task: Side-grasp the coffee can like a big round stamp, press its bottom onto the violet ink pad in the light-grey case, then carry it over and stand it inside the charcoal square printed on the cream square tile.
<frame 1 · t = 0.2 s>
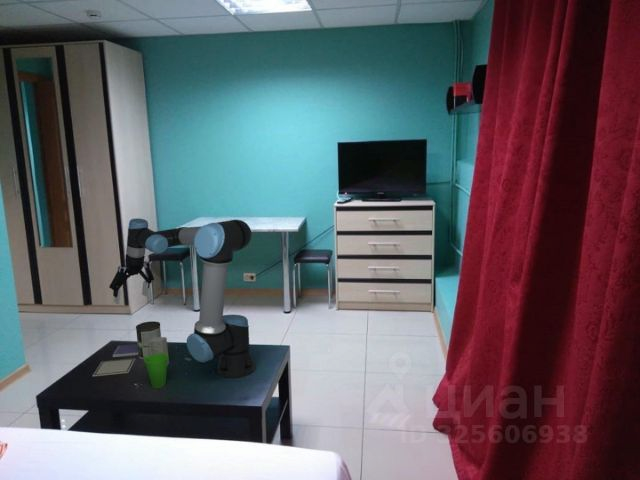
hand: (130, 299, 202), 27 cm above the table, tool tilted 15°, fingers open, 13 cm apart
skincare box: (160, 366, 197), on the table
ink pad: (128, 351, 213), on the table
cream square tile: (114, 367, 196), on the table
cup: (158, 385, 180), on the table
coffee can: (150, 355, 208), on the table
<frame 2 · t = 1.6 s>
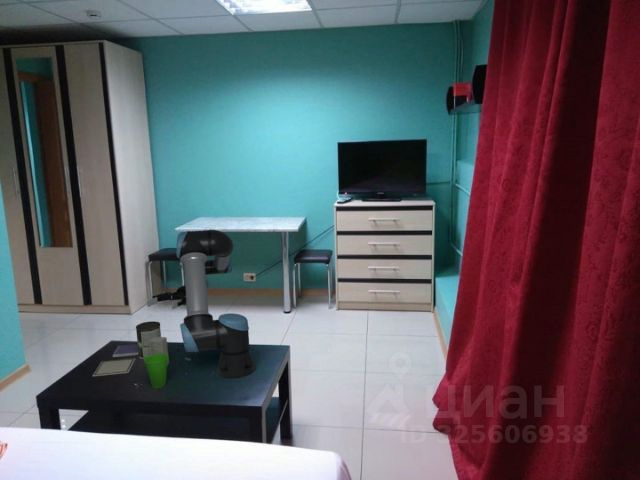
hand: (159, 305, 213), 20 cm above the table, tool horizontal, fingers open, 13 cm apart
nothing on the table moved.
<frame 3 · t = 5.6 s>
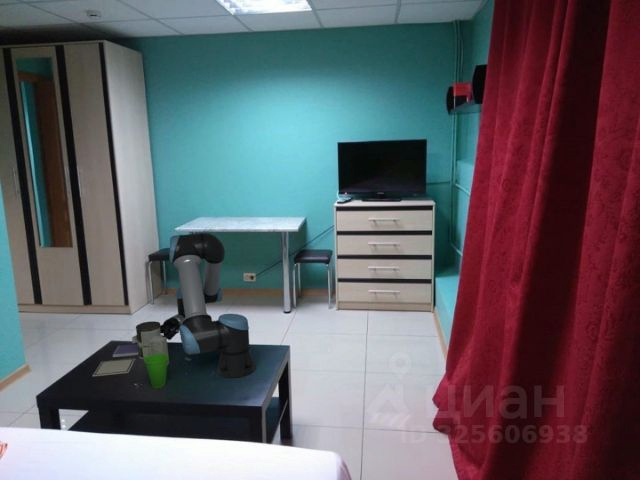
hand: (142, 341, 203), 8 cm above the table, tool horizontal, fingers closed on coffee can, 10 cm apart
coffee can: (150, 355, 208), on the table, touching gripper
everything else where it was.
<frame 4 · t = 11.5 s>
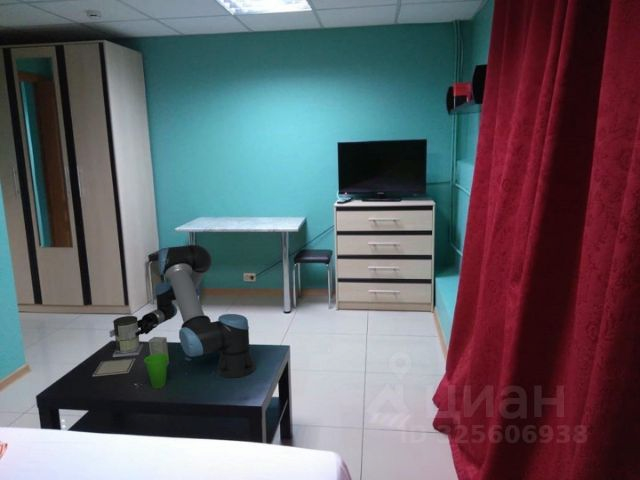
hand: (119, 335, 208), 9 cm above the table, tool horizontal, fingers closed on coffee can, 10 cm apart
coffee can: (128, 349, 213), point 1 cm above the table, touching gripper, ink pad
everything else where it was.
when the fingers open (9 cm above the table, at t = 17.0 s): coffee can drops 1 cm, resting on cream square tile.
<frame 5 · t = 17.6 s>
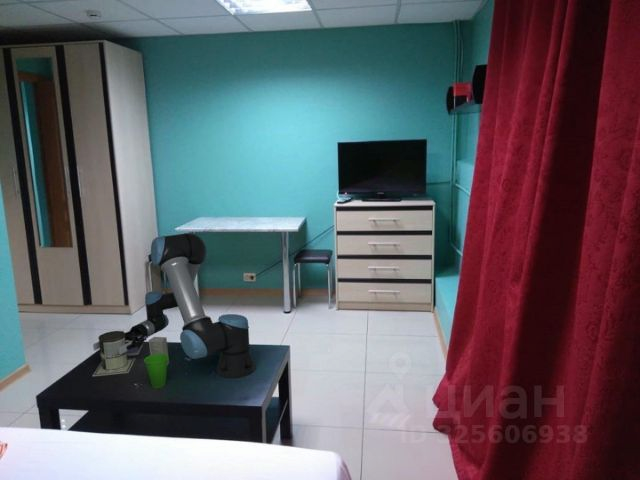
hand: (106, 349, 192), 9 cm above the table, tool horizontal, fingers open, 13 cm apart
coffee can: (115, 367, 196), resting on cream square tile
everything else where it was.
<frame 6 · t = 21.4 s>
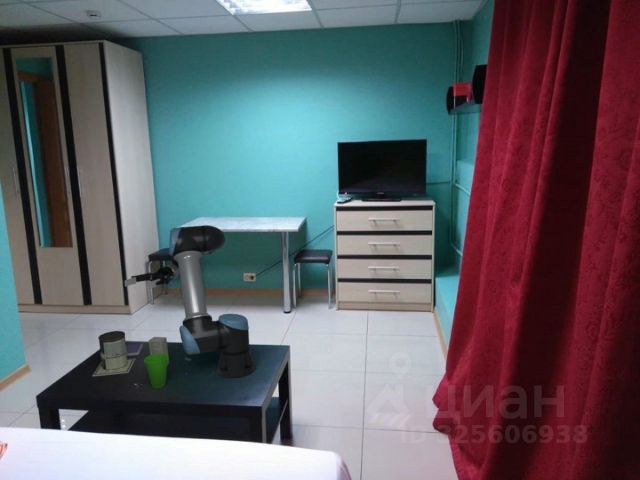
hand: (137, 284, 206), 32 cm above the table, tool horizontal, fingers open, 13 cm apart
nothing on the table moved.
at the end: coffee can 0.1 cm from the cream square tile (horizontally); coffee can tilted 0°; the gripper is holding nothing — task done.
